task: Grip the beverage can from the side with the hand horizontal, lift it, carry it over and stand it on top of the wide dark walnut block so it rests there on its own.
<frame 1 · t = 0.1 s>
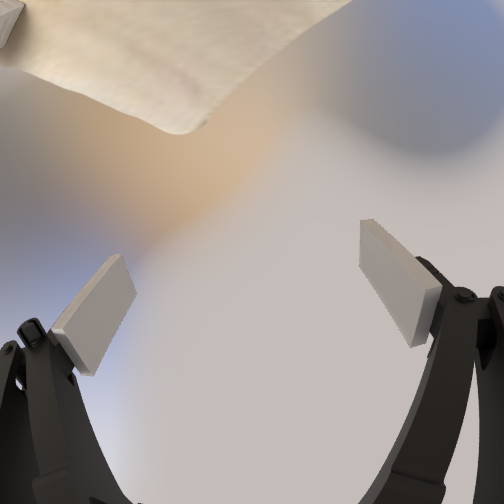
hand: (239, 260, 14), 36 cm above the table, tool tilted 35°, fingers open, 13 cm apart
supplement box: (0, 18, 14), on the table
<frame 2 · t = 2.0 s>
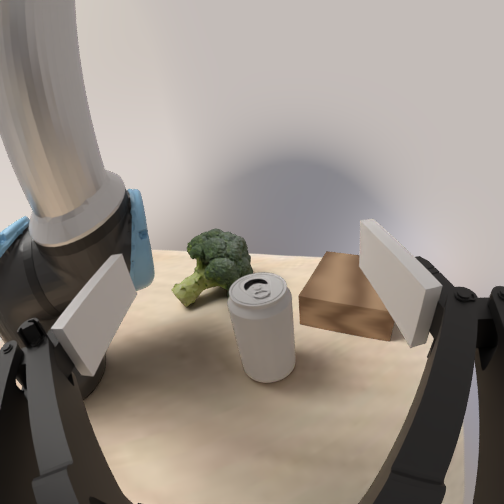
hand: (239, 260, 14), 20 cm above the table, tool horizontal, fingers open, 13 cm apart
beverage can: (269, 367, 32), on the table
walnut block: (354, 304, 40), on the table
vegetable: (218, 296, 48), on the table
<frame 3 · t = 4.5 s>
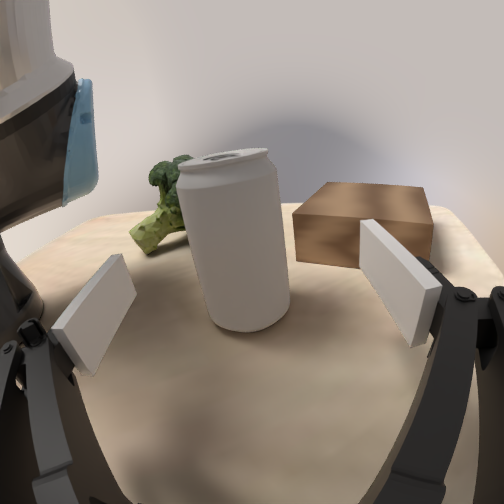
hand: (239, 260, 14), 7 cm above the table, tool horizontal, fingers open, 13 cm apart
beverage can: (250, 313, 22), on the table
walnut block: (369, 240, 29), on the table
vegetable: (188, 242, 37), on the table
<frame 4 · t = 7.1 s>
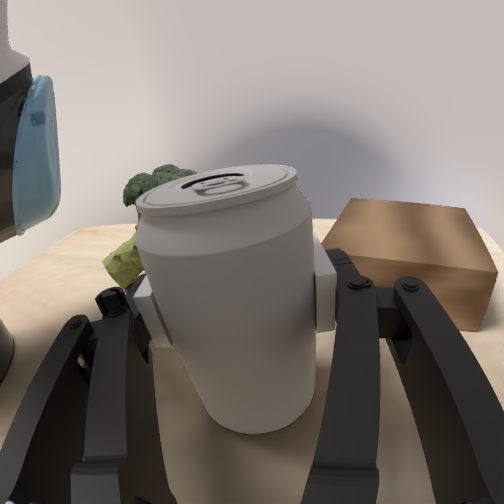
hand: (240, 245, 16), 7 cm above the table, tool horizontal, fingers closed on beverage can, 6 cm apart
beverage can: (259, 395, 15), on the table, touching gripper
walnut block: (404, 276, 22), on the table
vegetable: (174, 273, 30), on the table
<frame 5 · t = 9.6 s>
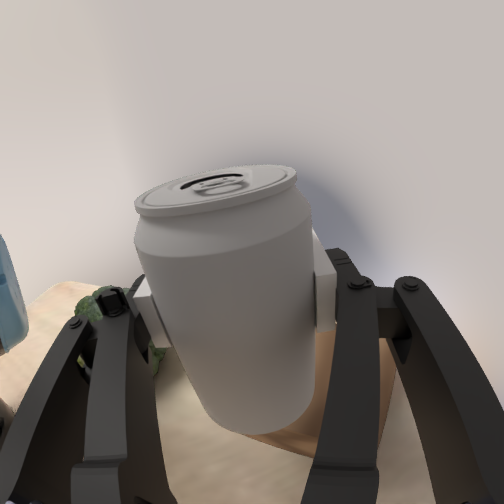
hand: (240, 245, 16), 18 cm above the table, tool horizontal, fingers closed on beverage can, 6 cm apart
beverage can: (259, 395, 14), point 11 cm above the table, touching gripper
walnut block: (320, 399, 24), on the table
vegetable: (128, 368, 31), on the table
when the fingers open (12 cm above the table, at t = 12.2 s): beverage can stays where it is, resting on walnut block.
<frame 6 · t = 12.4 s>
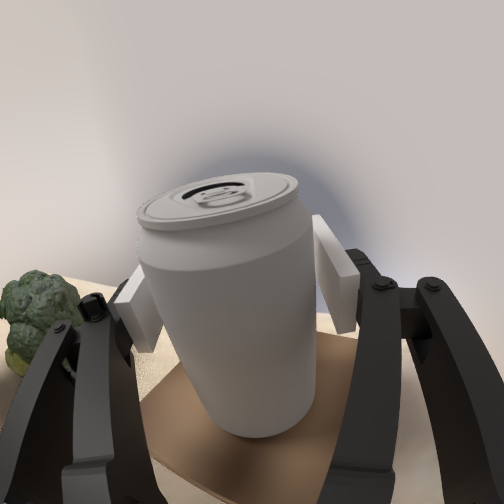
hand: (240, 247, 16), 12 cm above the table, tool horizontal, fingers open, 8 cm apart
beverage can: (260, 399, 15), point 5 cm above the table, touching walnut block
walnut block: (268, 431, 17), on the table
vegetable: (61, 365, 24), on the table
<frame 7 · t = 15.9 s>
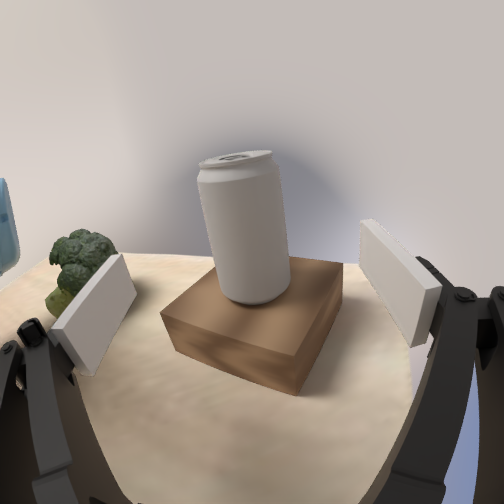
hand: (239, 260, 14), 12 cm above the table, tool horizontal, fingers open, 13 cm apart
beverage can: (256, 290, 25), point 5 cm above the table, touching walnut block
walnut block: (263, 328, 28), on the table
vegetable: (94, 308, 35), on the table
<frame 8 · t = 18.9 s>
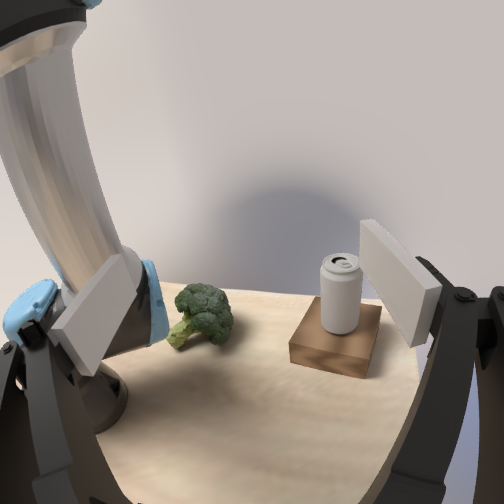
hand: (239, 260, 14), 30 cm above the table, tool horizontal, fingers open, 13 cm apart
beverage can: (339, 325, 43), point 5 cm above the table, touching walnut block
walnut block: (337, 344, 46), on the table
vegetable: (204, 338, 53), on the table
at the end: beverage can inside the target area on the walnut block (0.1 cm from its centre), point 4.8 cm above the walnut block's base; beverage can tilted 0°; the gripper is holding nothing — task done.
